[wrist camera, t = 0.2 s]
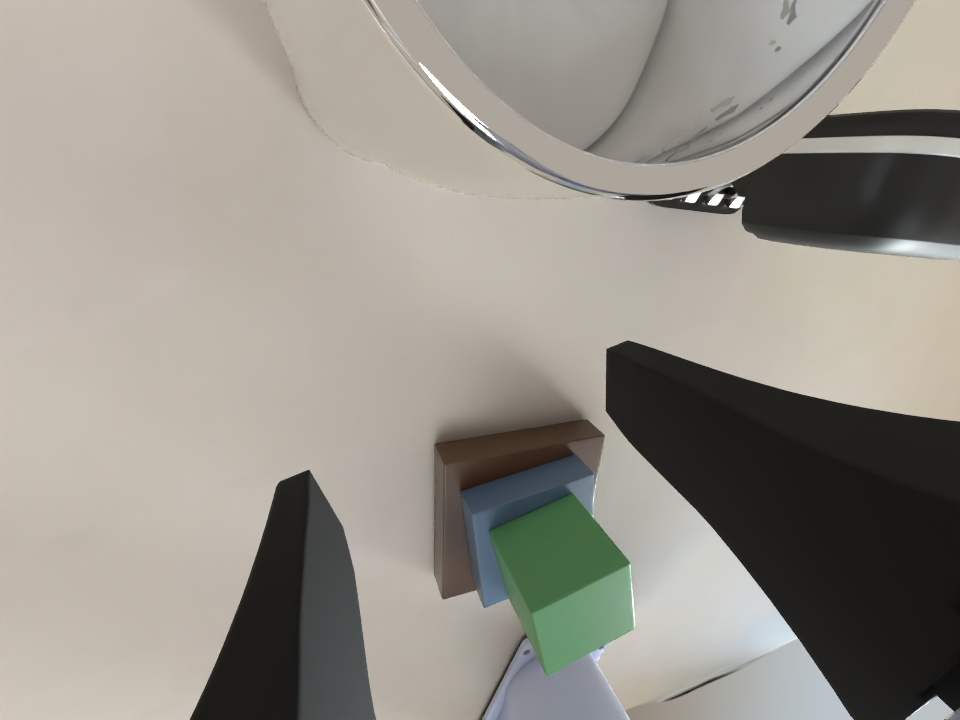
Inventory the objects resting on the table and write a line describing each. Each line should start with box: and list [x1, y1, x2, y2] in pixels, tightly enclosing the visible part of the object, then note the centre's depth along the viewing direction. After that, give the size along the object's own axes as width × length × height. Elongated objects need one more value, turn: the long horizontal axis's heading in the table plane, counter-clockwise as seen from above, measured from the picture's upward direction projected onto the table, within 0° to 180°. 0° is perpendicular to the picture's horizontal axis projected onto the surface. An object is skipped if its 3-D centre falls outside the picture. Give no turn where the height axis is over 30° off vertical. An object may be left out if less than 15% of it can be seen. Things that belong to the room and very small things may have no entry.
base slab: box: [434, 420, 605, 599], centre depth 25 cm, size 9×9×2 cm
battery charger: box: [647, 109, 960, 260], centre depth 17 cm, size 7×4×11 cm, turn 81°
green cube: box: [489, 493, 635, 676], centre depth 21 cm, size 5×5×5 cm
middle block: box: [461, 454, 594, 608], centre depth 24 cm, size 6×6×2 cm
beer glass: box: [264, 0, 916, 201], centre depth 10 cm, size 7×7×15 cm
